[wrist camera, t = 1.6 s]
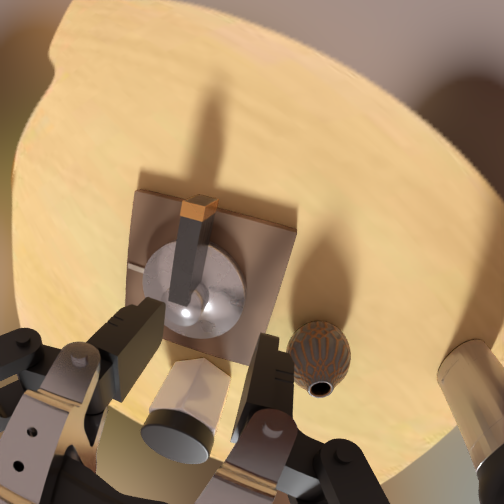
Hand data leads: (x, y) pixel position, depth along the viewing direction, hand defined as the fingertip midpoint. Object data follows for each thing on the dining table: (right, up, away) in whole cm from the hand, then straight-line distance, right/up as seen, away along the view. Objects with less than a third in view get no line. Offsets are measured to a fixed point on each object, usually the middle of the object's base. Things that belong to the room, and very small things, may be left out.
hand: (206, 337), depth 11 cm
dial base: (-4, 0, +21) cm, 21 cm away
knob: (-4, +2, +19) cm, 19 cm away
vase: (+9, -7, +21) cm, 24 cm away
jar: (-5, -14, +26) cm, 30 cm away
